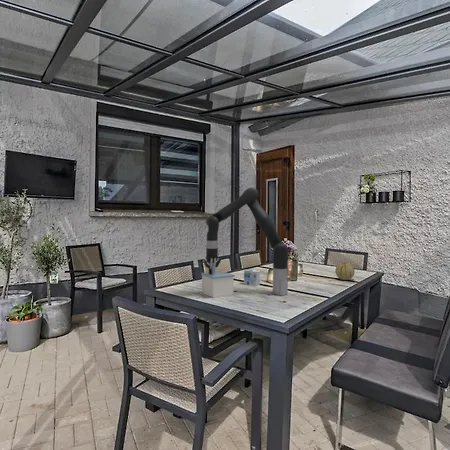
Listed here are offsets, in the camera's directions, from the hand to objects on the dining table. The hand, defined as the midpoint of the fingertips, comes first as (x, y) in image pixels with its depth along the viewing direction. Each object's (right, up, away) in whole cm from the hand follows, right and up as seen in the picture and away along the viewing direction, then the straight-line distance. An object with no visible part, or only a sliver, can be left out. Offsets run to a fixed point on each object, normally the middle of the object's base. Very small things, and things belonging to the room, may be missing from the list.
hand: (211, 273), depth 218 cm
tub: (+4, -14, +3) cm, 14 cm away
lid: (+4, -1, +2) cm, 5 cm away
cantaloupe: (+106, -13, +55) cm, 120 cm away
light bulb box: (+29, -13, +33) cm, 45 cm away
